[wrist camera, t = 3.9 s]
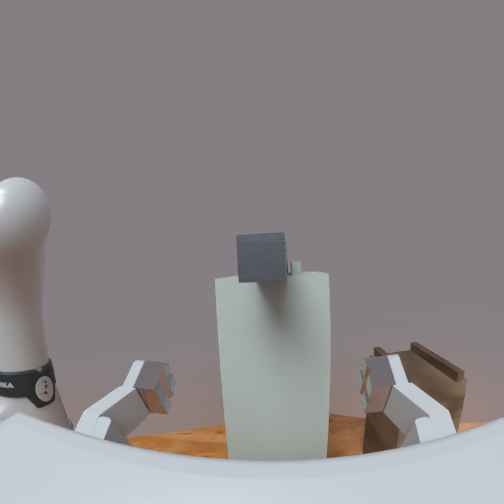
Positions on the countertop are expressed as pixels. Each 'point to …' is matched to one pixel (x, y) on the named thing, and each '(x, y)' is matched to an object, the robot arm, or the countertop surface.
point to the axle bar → (262, 258)
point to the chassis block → (428, 380)
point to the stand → (275, 365)
